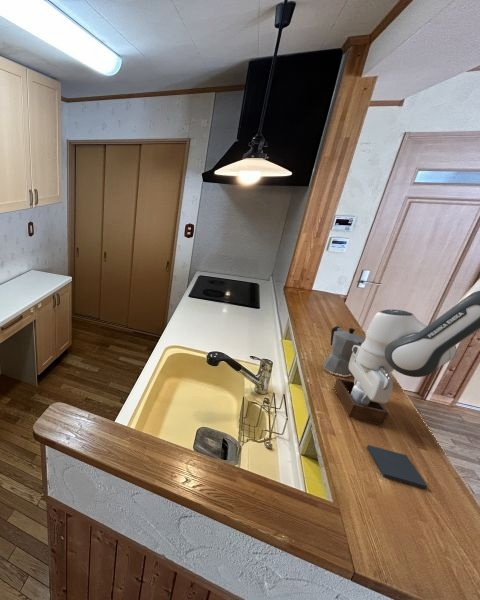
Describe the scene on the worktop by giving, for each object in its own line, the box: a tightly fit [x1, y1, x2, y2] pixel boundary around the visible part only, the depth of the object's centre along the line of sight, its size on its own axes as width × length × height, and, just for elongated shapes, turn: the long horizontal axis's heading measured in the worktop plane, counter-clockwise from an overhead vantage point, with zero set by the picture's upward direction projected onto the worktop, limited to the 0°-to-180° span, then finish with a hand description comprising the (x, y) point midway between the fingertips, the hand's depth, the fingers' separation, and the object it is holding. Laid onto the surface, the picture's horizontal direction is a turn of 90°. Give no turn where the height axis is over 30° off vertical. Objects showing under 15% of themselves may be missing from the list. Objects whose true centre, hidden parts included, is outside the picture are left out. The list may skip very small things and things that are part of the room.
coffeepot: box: [321, 325, 365, 379], centre depth 121 cm, size 15×9×18 cm, turn 174°
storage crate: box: [333, 377, 389, 426], centre depth 103 cm, size 8×16×4 cm, turn 158°
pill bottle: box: [350, 381, 368, 407], centre depth 102 cm, size 5×5×8 cm
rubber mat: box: [366, 444, 428, 490], centre depth 81 cm, size 8×10×1 cm
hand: (359, 397), depth 102 cm, fingers closed on pill bottle, 5 cm apart
